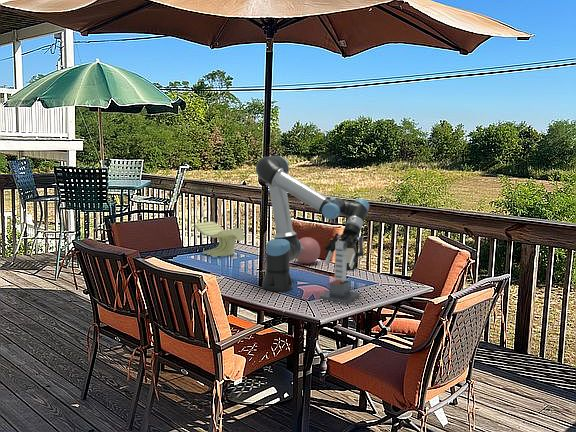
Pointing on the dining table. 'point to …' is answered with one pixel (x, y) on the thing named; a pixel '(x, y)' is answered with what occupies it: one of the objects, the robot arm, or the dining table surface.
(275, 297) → the dining table surface
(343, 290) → the stand
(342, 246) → the column
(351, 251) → the wine bottle
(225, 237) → the slatted curved stool
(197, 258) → the dining table surface
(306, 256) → the pink rounded ovoid
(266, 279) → the robot arm
